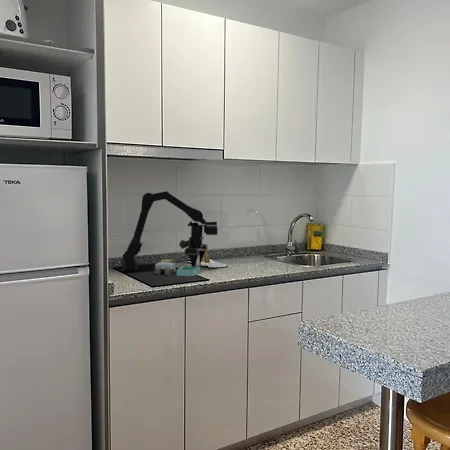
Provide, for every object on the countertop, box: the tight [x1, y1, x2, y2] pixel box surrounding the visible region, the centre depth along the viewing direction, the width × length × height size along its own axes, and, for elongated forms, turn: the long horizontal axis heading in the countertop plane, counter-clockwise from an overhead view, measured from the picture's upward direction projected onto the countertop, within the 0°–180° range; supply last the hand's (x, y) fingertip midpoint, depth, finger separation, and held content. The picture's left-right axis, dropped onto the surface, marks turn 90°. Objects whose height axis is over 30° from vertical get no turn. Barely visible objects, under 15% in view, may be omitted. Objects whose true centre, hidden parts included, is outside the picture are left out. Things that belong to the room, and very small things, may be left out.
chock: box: [160, 258, 176, 263], centre depth 228 cm, size 5×8×5 cm, turn 165°
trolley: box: [154, 261, 177, 276], centre depth 218 cm, size 8×10×5 cm
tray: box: [176, 265, 201, 277], centre depth 217 cm, size 8×10×3 cm
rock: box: [201, 249, 211, 263], centre depth 246 cm, size 11×9×10 cm
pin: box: [195, 253, 200, 267], centre depth 228 cm, size 3×3×8 cm
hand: (196, 265), depth 228 cm, fingers open, 9 cm apart
